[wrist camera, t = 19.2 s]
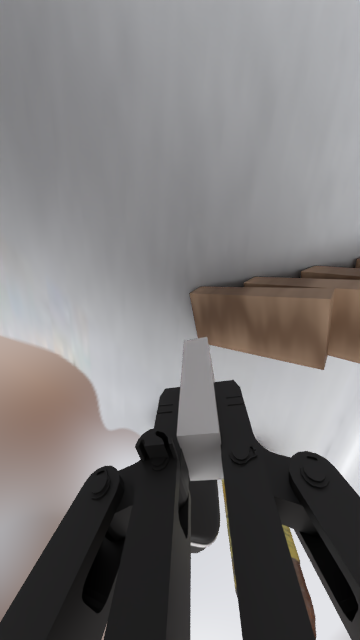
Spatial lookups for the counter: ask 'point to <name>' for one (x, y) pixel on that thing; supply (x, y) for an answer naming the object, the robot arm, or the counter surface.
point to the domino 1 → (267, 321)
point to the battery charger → (204, 513)
